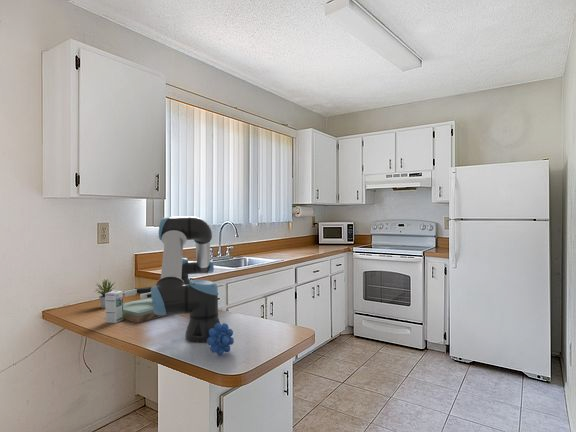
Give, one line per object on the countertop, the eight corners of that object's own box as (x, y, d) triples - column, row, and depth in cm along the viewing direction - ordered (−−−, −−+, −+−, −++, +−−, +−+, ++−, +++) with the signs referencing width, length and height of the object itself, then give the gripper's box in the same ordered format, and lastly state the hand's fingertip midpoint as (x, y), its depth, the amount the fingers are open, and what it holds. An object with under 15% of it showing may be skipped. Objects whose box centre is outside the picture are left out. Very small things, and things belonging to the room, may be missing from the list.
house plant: (88, 306, 208) (88, 277, 208) (114, 302, 217) (114, 275, 217) (93, 311, 197) (92, 281, 197) (120, 307, 205) (120, 278, 205)
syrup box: (116, 323, 174) (115, 293, 174) (105, 322, 175) (104, 292, 175) (123, 319, 179) (123, 290, 179) (113, 319, 180) (112, 290, 180)
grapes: (215, 363, 124) (214, 328, 124) (203, 358, 129) (203, 324, 129) (241, 353, 133) (240, 320, 133) (229, 349, 137) (228, 317, 137)
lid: (148, 300, 206) (147, 285, 206) (176, 306, 192) (176, 290, 192) (110, 309, 188) (110, 292, 188) (138, 316, 174) (138, 298, 174)
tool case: (148, 306, 206) (148, 301, 206) (176, 312, 192) (175, 306, 192) (111, 315, 188) (111, 309, 188) (138, 322, 174) (138, 316, 174)
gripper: (182, 297, 196) (147, 306, 178) (154, 292, 210) (119, 300, 192) (182, 283, 196) (147, 291, 178) (153, 279, 210) (118, 285, 192)
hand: (132, 295), depth 185 cm, fingers open, 13 cm apart
